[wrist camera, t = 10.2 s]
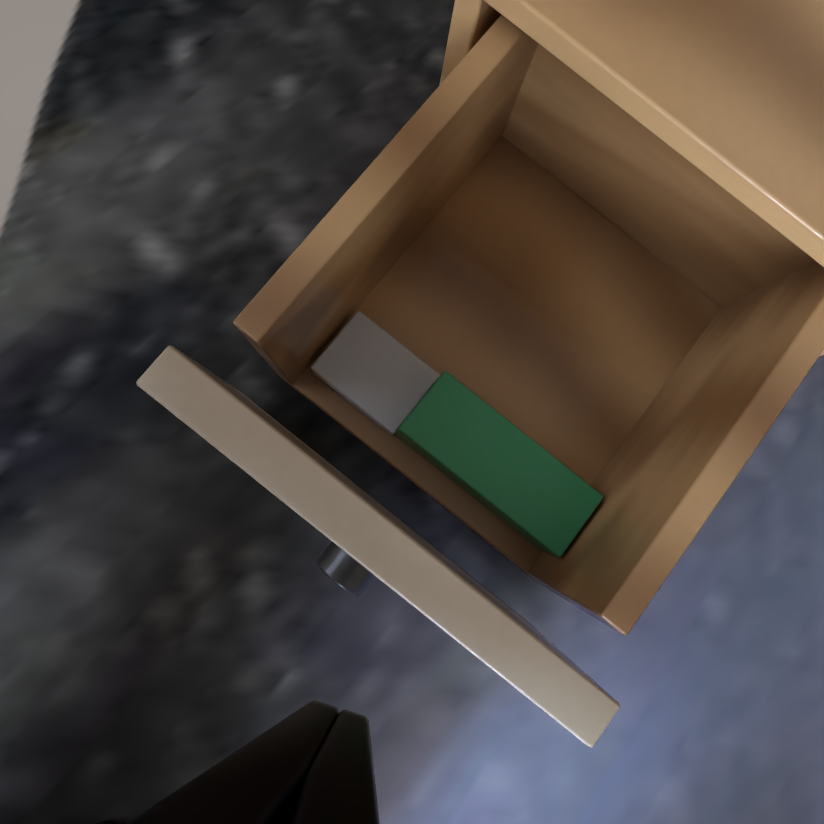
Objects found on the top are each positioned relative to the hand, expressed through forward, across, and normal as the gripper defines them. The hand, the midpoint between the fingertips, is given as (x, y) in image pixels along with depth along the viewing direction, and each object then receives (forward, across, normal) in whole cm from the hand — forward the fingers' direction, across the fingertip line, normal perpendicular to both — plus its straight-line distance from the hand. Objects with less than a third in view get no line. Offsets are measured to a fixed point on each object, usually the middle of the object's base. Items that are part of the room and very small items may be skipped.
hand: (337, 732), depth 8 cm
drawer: (+15, 0, +1) cm, 15 cm away
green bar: (+13, 0, 0) cm, 13 cm away
